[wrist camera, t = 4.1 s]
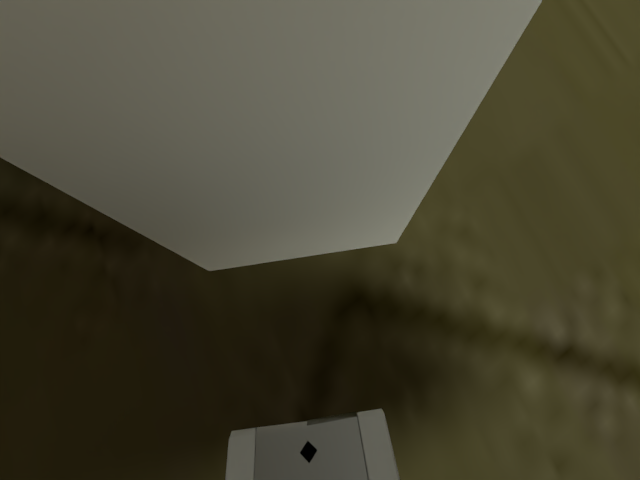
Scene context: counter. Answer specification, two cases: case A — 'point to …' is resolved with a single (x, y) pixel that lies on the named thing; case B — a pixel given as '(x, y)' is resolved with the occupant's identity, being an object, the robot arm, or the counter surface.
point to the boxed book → (248, 113)
